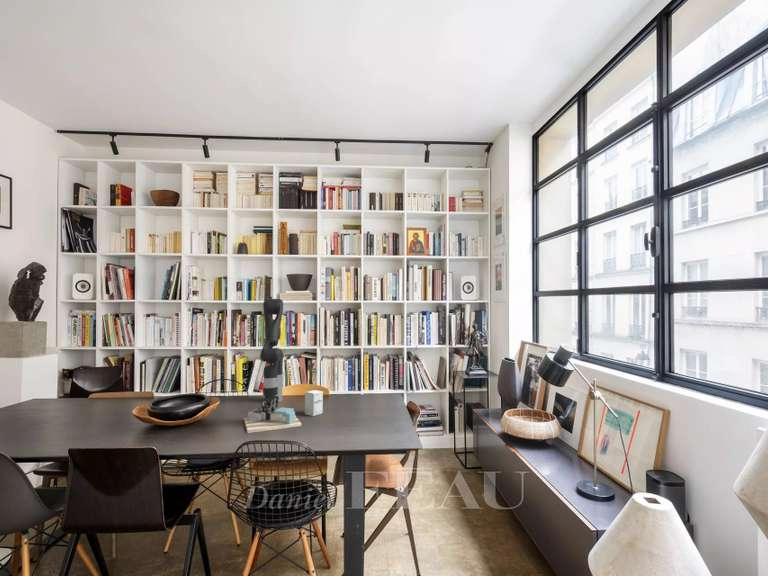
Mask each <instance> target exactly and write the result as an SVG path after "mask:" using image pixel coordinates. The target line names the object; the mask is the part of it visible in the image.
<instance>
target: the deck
mask: <svg viewBox="0 0 768 576" xmlns="http://www.w3.org/2000/svg"><path fill="white" fill-rule="evenodd" d="M243 420H244V421H243V422H244V425H245V429H246V433H247V434H251V433H257V432H259V433H260V432H266V431H271V430H272V431H273V430H282V429H289V428H295V427H302V422H301V421H300V419H299V418H298V417H297V416H296V415H295V421H294V422H293V423H291V424H286V421H284V422H274V421H261V422H260V421H248V417H244V418H243Z"/></svg>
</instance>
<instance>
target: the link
mask: <svg viewBox="0 0 768 576" xmlns="http://www.w3.org/2000/svg"><path fill="white" fill-rule="evenodd" d="M247 418H248V421H260V422H261V421H274V422H284V421H286V414H281V413H274V411H271V410H270V420H265V412H263V411H262V408H261V413H257V408H256V409H254V410H252V411H249V412H248V413H247Z"/></svg>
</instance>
